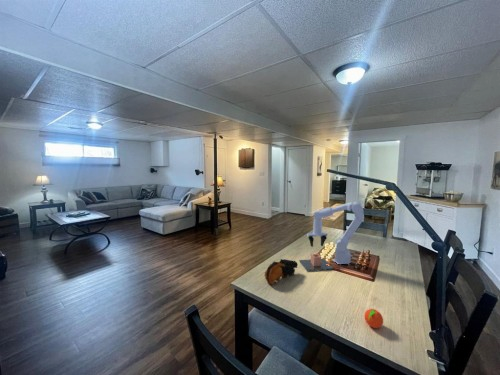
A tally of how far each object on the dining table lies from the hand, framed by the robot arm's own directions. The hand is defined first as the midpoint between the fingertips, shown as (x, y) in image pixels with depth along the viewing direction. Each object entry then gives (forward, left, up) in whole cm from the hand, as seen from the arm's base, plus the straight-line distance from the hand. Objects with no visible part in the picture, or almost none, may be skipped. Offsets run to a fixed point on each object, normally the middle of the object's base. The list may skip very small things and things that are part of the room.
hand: (316, 245), depth 154 cm
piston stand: (+5, +10, -9) cm, 15 cm away
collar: (+5, +10, -8) cm, 14 cm away
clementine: (+5, +64, -10) cm, 65 cm away
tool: (+32, +22, -10) cm, 40 cm away
